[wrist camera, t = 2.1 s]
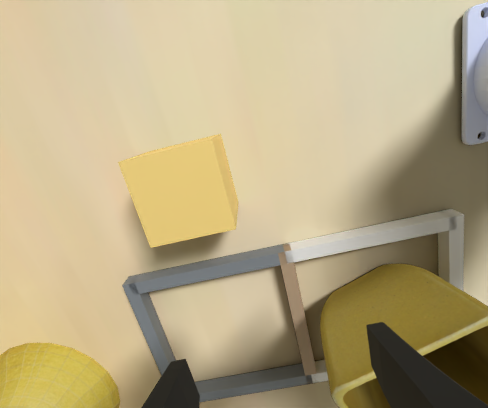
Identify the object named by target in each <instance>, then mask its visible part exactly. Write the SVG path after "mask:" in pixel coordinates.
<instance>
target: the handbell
mask: <svg viewBox="0 0 488 408" xmlns="http://www.w3.org/2000/svg"><path fill="white" fill-rule="evenodd" d="M119 405H120V397H119V392H118V387H117V385H116V384H115V382H114V381H113V379H112V377H111V376H110V374H109V373H108V371H107V370H105V369H104V368H103V367H102V366H101V365H100V364H98V363H97V362H96V361H95V360H94V359H93V358H91V357H89V356H87V355H85V354H83V353H81V352H79V351H77V350H75V349H73V348H69V347H65V346H61V345H57V344H53V343H27V344H23V345H20V346H16V347H13V348H10V349H8V350H7V351H6V352H4V353H3V354H1V355H0V408H119Z"/></svg>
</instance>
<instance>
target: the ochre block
mask: <svg viewBox="0 0 488 408" xmlns="http://www.w3.org/2000/svg"><path fill="white" fill-rule="evenodd" d="M118 163H119V166H120V169H121V171H122V174H123V177H124V179H125V182H126V184H127V187H128V190H129V192H130V195H131V198H132V200H133V203H134V205H135V208H136V211H137V213H138V216H139V219H140V221H141V224H142V226H143V229H144V232H145V234H146V237H147V240H148V242H149V245H150V247H151V248H152V247H157V246H161V245H166V244H171V243H175V242H180V241H184V240H189V239H193V238H198V237H203V236H207V235H212V234H216V233H221V232H226V231H230V230H235V229H236V223H237V212H238V199H237V195H236V191H235V188H234V184H233V180H232V176H231V172H230V168H229V164H228V160H227V156H226V152H225V149H224V145H223V141H222V137H221V134H218V135H214V136H210V137H206V138H202V139H198V140H194V141H190V142H186V143H182V144H178V145H174V146H170V147H165V148H161V149H157V150H153V151H150V152H147V153H144V154H141V155H138V156H135V157H132V158H129V159H126V160H123V161H121V162H118Z"/></svg>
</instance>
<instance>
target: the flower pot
mask: <svg viewBox="0 0 488 408" xmlns="http://www.w3.org/2000/svg"><path fill="white" fill-rule="evenodd" d="M379 322H383V323H385V324H386V325H387V326H388V327H390V328H391V329H392V330H393V331H394V332H395V333H396V334H397V335H399V336H400V337H401V338H402V339H403V340H404V341H405V342H407V343H408V344H409V345H410V346H411V347H412V348H414V349H415V350H416V351H417V352H418V353H420V354H421V355H422V356H423V357H424V358H426V359H427V360H428V361H429V362H431V363H432V364H433V365H434V366H436V367H437V368H438V369H439V370H441V371H442V372H443V373H445V374H446V375H447V376H448V377H450V378H451V379H452V380H454V381H455V382H456V383H458V384H459V385H460V386H462V387H463V388H465V389H466V390H467V391H469V392H470V393H471V394H473V395H474V396H476V397H477V398H478V399H480V400H481V401H483V402H484V403H486V404H487V405H488V306H486V305H485V304H483V303H482V302H480V301H478V300H477V299H475V298H473V297H472V296H470V295H468V294H467V293H465V292H463V291H462V290H460V289H459V288H457V287H455V286H454V285H452V284H450V283H449V282H447V281H445V280H444V279H442V278H441V277H439V276H437V275H435V274H434V273H432V272H430V271H428V270H426V269H423V268H420V267H417V266H413V265H409V264H386V265H382V266H380V267H378V268H376V269H374V270H372V271H371V272H369V273H367V274H365V275H363V276H362V277H360V278H358V279H356V280H354V281H353V282H351V283H349V284H347V285H345V286H343V287H341V288H340V289H338V290H336V291H334V292H333V293H332V294H331V295H330V296H329V298H328V299H327V301H326V303H325V304H324V307H323V309H322V313H321V319H320V332H321V340H322V346H323V352H324V357H325V363H326V369H327V375H328V380H329V386H330V391H331V396H332V399H333V400H334V402H335V403H336V405H337V406H338V407H339V408H391V406H390V405H389V403H388V401H387V399H386V397H385V395H384V393H383V391H382V389H381V386H380V384H379V382H378V380H377V377H376V375H375V373H374V370H373V368H372V366H371V359H370V351H369V343H368V336H367V328H366V325H368V324H373V323H379Z"/></svg>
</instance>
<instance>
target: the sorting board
mask: <svg viewBox="0 0 488 408" xmlns="http://www.w3.org/2000/svg"><path fill="white" fill-rule="evenodd" d="M435 233H438V268H439V277H441V278H442V279H444V280H445V281H447V282H449V283H450V284H452V285H454V286H455V287H457V288H459V289H460V290H462V291H463V276H464V214H462V213H460V212H458V211H455V210H453V209H448V210H443V211H438V212H434V213H429V214H424V215H419V216H415V217H410V218H405V219H400V220H396V221H391V222H386V223H381V224H377V225H372V226H367V227H362V228H358V229H353V230H348V231H343V232H339V233H334V234H329V235H324V236H320V237H315V238H310V239H305V240H301V241H296V242H291V243H286V244H282V245H277V246H272V247H267V248H263V249H258V250H253V251H248V252H244V253H239V254H234V255H229V256H225V257H220V258H215V259H210V260H206V261H201V262H196V263H191V264H187V265H182V266H177V267H172V268H168V269H163V270H158V271H153V272H149V273H144V274H139V275H134V276H130V277H128V279H127V280H126V281H125V283H124V284H123V285H122V286H123V288H124V291H125V293H126V295H127V297H128V300H129V302H130V304H131V307H132V309H133V311H134V313H135V316H136V318H137V320H138V323H139V325H140V327H141V330H142V332H143V334H144V336H145V339H146V341H147V343H148V346H149V348H150V350H151V352H152V355H153V357H154V359H155V362H156V364H157V366H158V368H159V371H160V373H161V375H163V373H164V372H165V370H166V368H167V367H168V365H169V364H170V362H172V361H176V360H175V357H174V355H173V352H172V350H171V348H170V345H169V343H168V340H167V338H166V335H165V333H164V330H163V328H162V325H161V323H160V320H159V318H158V316H157V313H156V311H155V308H154V306H153V303H152V301H151V298H150V296H149V293H148V292H151V291H156V290H161V289H166V288H171V287H176V286H181V285H186V284H190V283H195V282H200V281H205V280H210V279H215V278H220V277H225V276H230V275H234V274H239V273H244V272H249V271H254V270H259V269H264V268H269V267H274V266H278V265H281V270H282V274H283V279H284V283H285V288H286V292H287V297H288V301H289V306H290V310H291V314H292V319H293V323H294V328H295V332H296V337H297V341H298V346H299V350H300V355H301V359H302V364H296V365H291V366H285V367H279V368H274V369H268V370H262V371H256V372H251V373H245V374H239V375H233V376H228V377H222V378H216V379H211V380H205V381H199V382H195V385H196V387H197V390H198V392H199V395H200V402H204V401H210V400H216V399H222V398H228V397H234V396H240V395H246V394H252V393H258V392H264V391H270V390H276V389H282V388H288V387H293V386H299V385H305V384H311V383H317V382H323V381H329V380H328V375H327V369H326V363H325V360H319V361H314V357H313V352H312V348H311V343H310V338H309V333H308V328H307V323H306V318H305V313H304V309H303V304H302V299H301V294H300V289H299V284H298V279H297V274H296V269H295V265H294V262H298V261H303V260H308V259H313V258H318V257H322V256H327V255H332V254H337V253H342V252H347V251H352V250H357V249H362V248H366V247H371V246H376V245H381V244H386V243H391V242H396V241H401V240H406V239H410V238H415V237H420V236H425V235H430V234H435Z"/></svg>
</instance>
